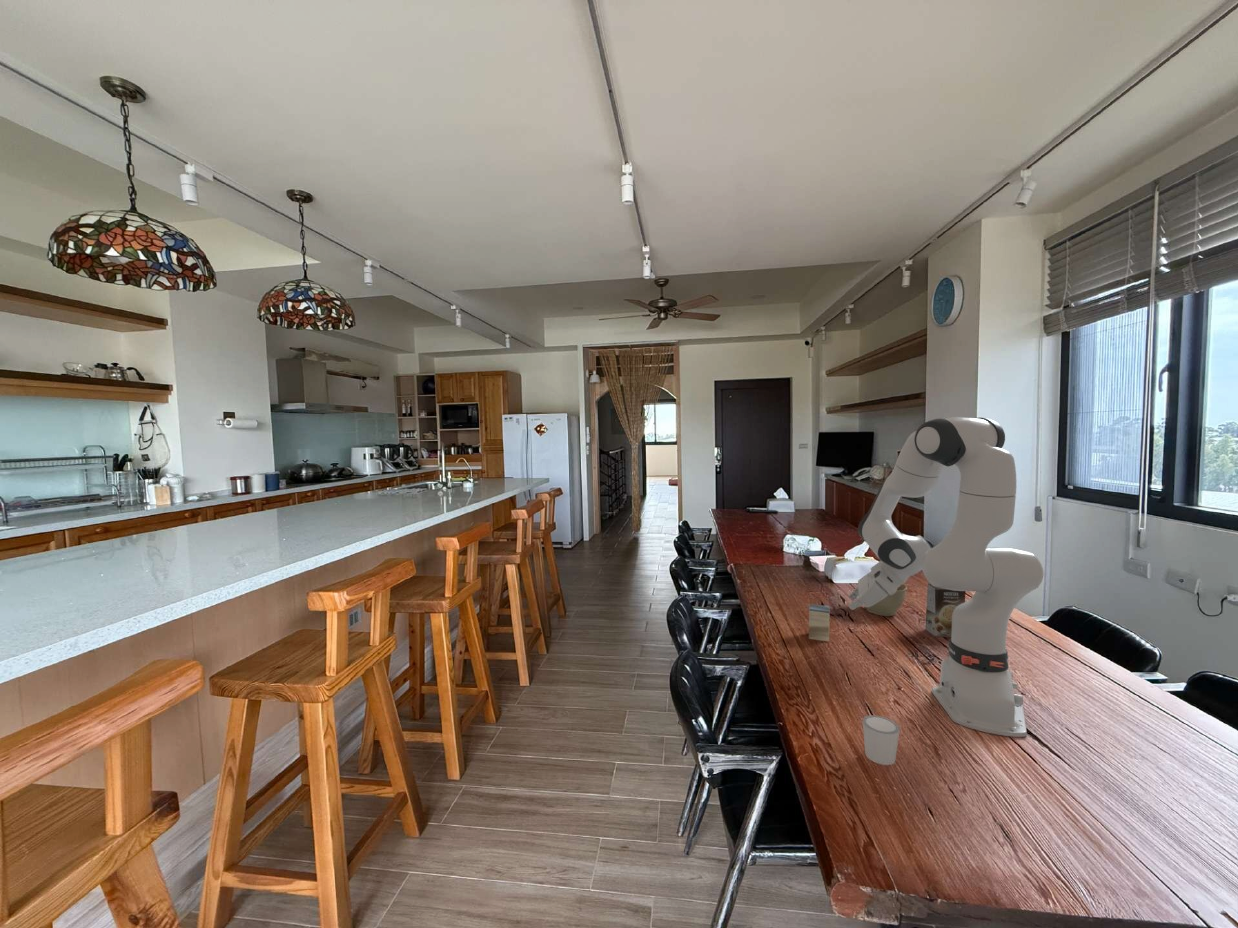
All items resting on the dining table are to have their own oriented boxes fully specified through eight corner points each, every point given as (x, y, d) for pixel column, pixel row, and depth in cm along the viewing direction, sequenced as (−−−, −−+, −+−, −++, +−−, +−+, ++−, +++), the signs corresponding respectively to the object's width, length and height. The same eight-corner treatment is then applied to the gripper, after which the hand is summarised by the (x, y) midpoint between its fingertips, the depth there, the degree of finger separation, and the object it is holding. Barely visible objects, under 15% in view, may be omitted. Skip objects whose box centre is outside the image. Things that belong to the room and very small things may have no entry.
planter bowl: (863, 618, 181) (863, 588, 180) (853, 603, 196) (853, 576, 196) (912, 621, 177) (913, 591, 176) (898, 606, 193) (898, 578, 192)
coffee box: (934, 636, 164) (936, 589, 163) (924, 629, 170) (926, 583, 169) (964, 637, 163) (966, 589, 162) (953, 630, 169) (954, 583, 168)
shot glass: (866, 741, 109) (866, 710, 108) (901, 754, 104) (902, 722, 104) (858, 757, 103) (858, 725, 103) (895, 771, 99) (896, 737, 98)
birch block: (828, 641, 161) (829, 611, 160) (808, 638, 163) (809, 608, 163) (829, 635, 165) (829, 606, 165) (809, 632, 168) (810, 603, 167)
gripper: (876, 560, 165) (843, 585, 170) (879, 577, 147) (842, 605, 152) (891, 575, 164) (857, 599, 169) (896, 594, 145) (858, 621, 150)
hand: (850, 602), depth 160 cm, fingers open, 8 cm apart
